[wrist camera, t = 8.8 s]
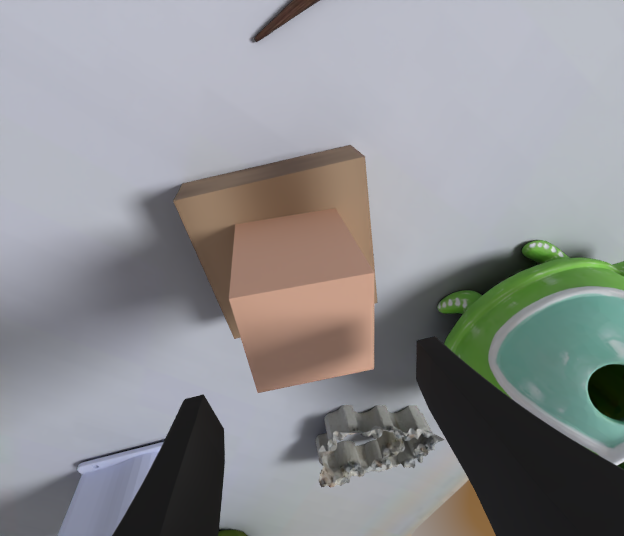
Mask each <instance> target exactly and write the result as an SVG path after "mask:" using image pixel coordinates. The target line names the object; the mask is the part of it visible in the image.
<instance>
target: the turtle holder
mask: <svg viewBox="0 0 624 536" xmlns="http://www.w3.org/2000/svg"><path fill="white" fill-rule="evenodd" d="M522 253H523V255H524V256H525V257H527V258H529V259H531V260H533V261H535V262H537V263H540V265H537V266H534V267H531V268H529V269H526V270H524V271H521V272H519V273H517V274H515V275H513V276H511V277H509V278H507V279H506V280H504V281H502V282H500V283H499V284H497V285H496V286H494V287H493V288H492V289H490V290H489V291H487V292H486V293H485V294H484V295H481V294H479V293H477V292H475V291H469V290H463V291H458V292H454V293H452V294H450V295H448V296H447V297H445V298H444V299H442V300H441V301H440V302H439V304H438V307H437V308H438V310H439V312H441V313H444V314H454V313H461V314H463V315H462V316H461V317H460V319H459V320H458V321H457V323H456V324H455V326H454V327H453V329H452V330H451V332H450V333H449V335H448V336H447V338H446V340H445V343H444V345H446V346H447V347H448V348H449V349H450V350H451V351H452V352H454V353H455V354H456V355H457V356H458V357H459V358H461V359H462V360H463V361H464V362H465V363H467V364H468V365H469V366H470V367H471V368H473V369H474V370H475V371H476V372H478V373H479V374H480V375H481V376H483V377H484V378H485V379H486V380H488V381H489V382H490V383H492V384H493V385H494V386H495V387H497V388H498V389H499V390H501V391H502V392H503V393H505V394H506V395H507V396H509V397H510V398H511V399H513V400H514V401H515V402H517V403H518V404H520V405H521V406H522V407H524V408H525V409H527V410H528V411H529V412H531V413H532V414H534V415H535V416H537V417H538V418H540V419H541V420H543V421H544V422H546V423H547V424H549V425H550V426H552V427H553V428H555V429H556V430H558V431H560V432H561V433H563V434H564V435H566V436H567V437H569V438H571V439H572V440H574V441H576V442H577V443H579V444H580V445H582V446H584V447H585V448H587V449H589V450H590V451H592V452H594V453H595V454H597V455H599V456H601V457H602V458H604V459H606V460H608V461H610V462H611V463H613V464H615V465H617V466H619V467H620V468H622V469H624V261H623V262H620V263H617V264H613V265H611V264H609V263H607V262H604V261H601V260H596V259H590V258H569V257H568V256H567V255H566V254H565V253H563V252H562V251H561V250H560V249H558V248H557V247H556V246H554V245H552V244H551V243H549V242H547V241H543V240H536V241H532V242H530V243H528V244H526V245H525V246H524V247H523V248H522Z"/></svg>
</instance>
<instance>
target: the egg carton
mask: <svg viewBox="0 0 624 536" xmlns="http://www.w3.org/2000/svg"><path fill="white" fill-rule="evenodd" d="M324 422H325V427H326V431H327V433H325V434H321V435H318V436H317V438H316V440H315V441H316V446H317V452H318V456H319V462H320V463H321V464H322V465H323V470H321V473H320V478H319V482H320V485H321V487H325V486H329V487H334V486H335V485H340V486H341V485H342V484H345V483H346V482H347V483H349V481H350V477H351V476H359V477H360V476H364V474H365V473H367V472H371V471H375V472H381V471H384V470H387V469H391V468H392V467H397V466H398V465H399V464H402V465H403V467H404V468H405V467H408V468H410V467H413V468H414V467H415V460H416V459H417V458H418V461H419V462H420V463H422V461H423V456H427V455H428V453H429V451H430V450H434V445H435V444H436V443H438V442H440V441H442V440H444V439H442V438H441V437H439V436H437V435H435V434H433V433H432V431H431V429H430V428H429V426H428V424H427V422H426V420H425V418H424V415H423V413H420V411H419V409H418V407H417V406H415V405H411V406H407V407H406V408H405V409H404V410H402V411H400V412H397V413H389V412H388V410H387V407H386V406H385V405H377V406H375V407H374V408H373V409H372V410H370V411H368V412H365V413H356V412H354V409H353V406H352V405H342V406H341V407H340V409H338V410H337V411H335V412H332V413H328V414H327V415H326V417H325V418H324ZM356 433H361V435H362V436H367V437H369V436H370V435H372V436H373V437H374V439H375V438H377V440H372V441H370V442H368V443H366V444H365V445H361V446H355V443H354V442H352V441H348V440H347V441H342V442H339V443H337V442H336V440H343V438H344V437H346V436H347V435H348V434H350V435H352V434H356ZM402 437H403V439H402Z"/></svg>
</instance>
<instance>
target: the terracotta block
mask: <svg viewBox="0 0 624 536" xmlns="http://www.w3.org/2000/svg"><path fill="white" fill-rule="evenodd" d="M229 301H230V304H231V308H232V311H233V314H234V317H235V321H236V324H237V327H238V330H239V334H240V337H241V340H242V343H243V346H244V350H245V353H246V356H247V359H248V363H249V366H250V369H251V372H252V376H253V379H254V382H255V385H256V389H257V392H258V393H261V392H265V391H270V390H275V389H280V388H285V387H290V386H295V385H299V384H304V383H309V382H314V381H319V380H324V379H328V378H333V377H338V376H343V375H348V374H353V373H358V372H362V371H367V370H372V369H374V271H373V269H372V268H371V266H370V264H369V263H368V261H367V260H366V258H365V256H364V255H363V253H362V251H361V250H360V248H359V246H358V245H357V243H356V241H355V240H354V238H353V236H352V235H351V233H350V231H349V230H348V228H347V226H346V225H345V223H344V221H343V220H342V218H341V216H340V215H339V213H338V211H337V210H336V208H333V209H327V210H321V211H315V212H309V213H302V214H296V215H290V216H284V217H278V218H272V219H265V220H259V221H253V222H247V223H241V224H235V233H234V244H233V256H232V268H231V280H230V291H229Z"/></svg>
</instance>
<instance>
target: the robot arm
mask: <svg viewBox="0 0 624 536" xmlns="http://www.w3.org/2000/svg"><path fill="white" fill-rule="evenodd" d="M416 380H417V382H418V385H419V387H420V389H421V392H422V394H423V396H424V399H425V401H426V403H427V405H428V408H429V410H430V411H431V413H432V415H433V417H434V419H435V420H436V422H437V424H438V426H439V427H440V429H441V431H442V433H443V434H444V436H445V438H446V440H447V441H448V443H449V445H450V447H451V448H452V450H453V452H454V454H455V455H456V457H457V459H458V461H459V462H460V464H461V466H462V468H463V469H464V471H465V473H466V475H467V476H468V478H469V480H470V482H471V484H472V486H473V488H474V490H475V492H476V494H477V496H478V498H479V500H480V502H481V504H482V506H483V509H484V511H485V513H486V515H487V517H488V519H489V521H490V523H491V526H492V528H493V530H494V532H495V534H496V536H624V469H622V468H620V467H619V466H617V465H615V464H613V463H611V462H610V461H608V460H606V459H604V458H602V457H601V456H599V455H597V454H595V453H594V452H592V451H590V450H589V449H587V448H585V447H584V446H582V445H580V444H579V443H577V442H576V441H574V440H572V439H571V438H569V437H567V436H566V435H564V434H563V433H561V432H560V431H558V430H556V429H555V428H553V427H552V426H550V425H549V424H547V423H546V422H544V421H543V420H541V419H540V418H538V417H537V416H535V415H534V414H532V413H531V412H529V411H528V410H527V409H525V408H524V407H522V406H521V405H520V404H518V403H517V402H515V401H514V400H513V399H511V398H510V397H509V396H507V395H506V394H505V393H503V392H502V391H501V390H499V389H498V388H497V387H495V386H494V385H493V384H492V383H490V382H489V381H488V380H486V379H485V378H484V377H483V376H481V375H480V374H479V373H478V372H476V371H475V370H474V369H473V368H471V367H470V366H469V365H468V364H467V363H465V362H464V361H463V360H462V359H461V358H459V357H458V356H457V355H456V354H455V353H454V352H452V351H451V350H450V349H449V348H448V347H447V346H446V345H444V344H443V343H442V342H441V341H440V340H439V339H438V338H436V337H435V336H434V337H430V338H426V339H422V340H418V341H417V362H416ZM224 464H225V451H224V428H223V427H222V425H221V423H220V422H219V420H218V418H217V416H216V415H215V413H214V411H213V410H212V408H211V406H210V405H209V403H208V401H207V399H206V398H205V396H204V395H200V396H196V397H192V398H188V399H185V400H184V401H183V403H182V405H181V407H180V409H179V412H178V414H177V416H176V418H175V420H174V422H173V424H172V426H171V428H170V430H169V432H168V434H167V436H166V439H165V441H164V442H160V443H157V444H153V445H149V446H145V447H141V448H137V449H133V450H129V451H125V452H121V453H117V454H114V455H110V456H106V457H102V458H98V459H94V460H90V461H86V462H82V463H80V464H79V465H78V468H77V470H78V472H80V473H81V474H82V475H81V478H80V480H79V483H78V485H77V488H76V490H75V493H74V495H73V498H72V500H71V503H70V505H69V508H68V510H67V513H66V515H65V518H64V520H63V523H62V525H61V528H60V530H59V533H58V535H57V536H218V533H219V522H220V511H221V500H222V488H223V477H224Z"/></svg>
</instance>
